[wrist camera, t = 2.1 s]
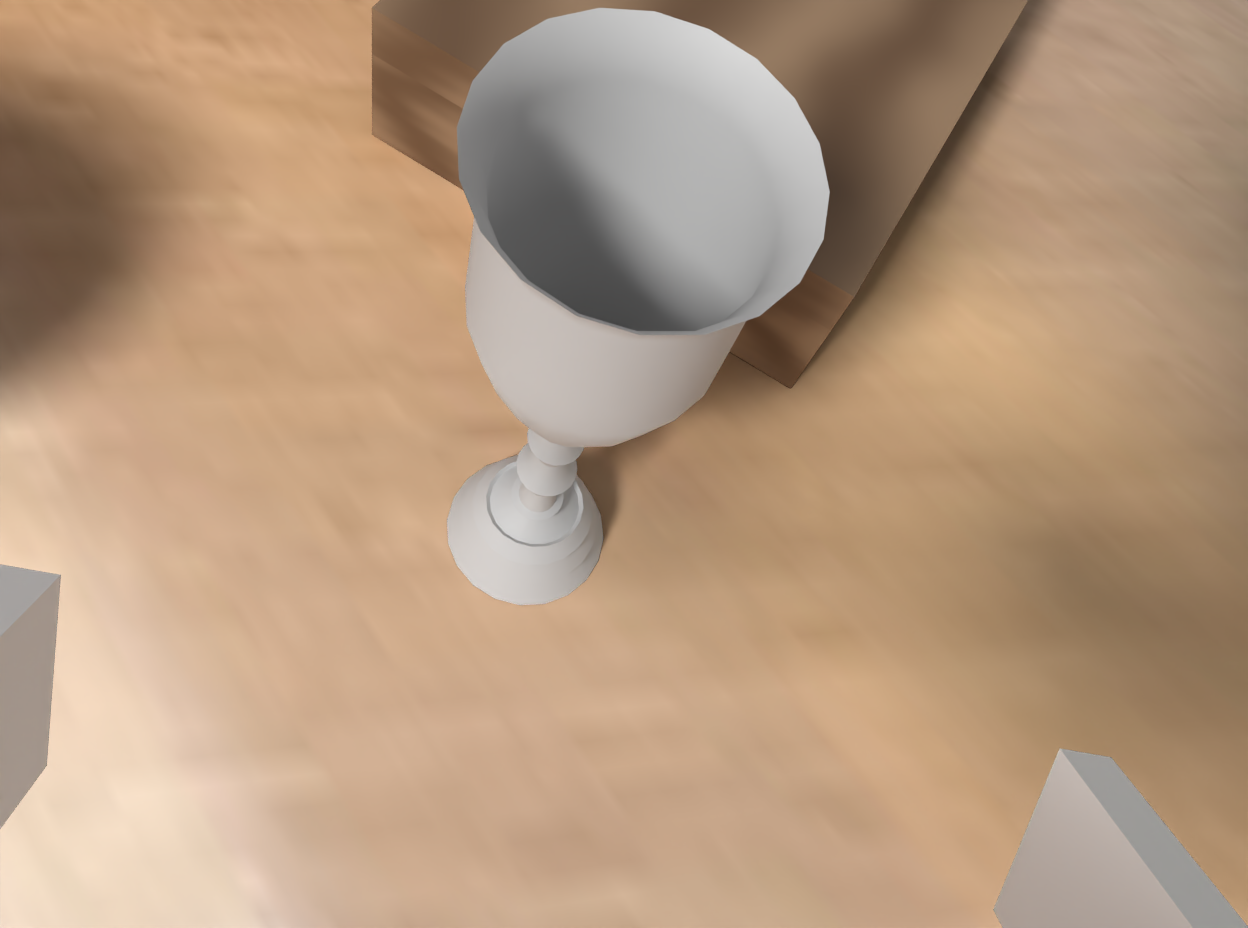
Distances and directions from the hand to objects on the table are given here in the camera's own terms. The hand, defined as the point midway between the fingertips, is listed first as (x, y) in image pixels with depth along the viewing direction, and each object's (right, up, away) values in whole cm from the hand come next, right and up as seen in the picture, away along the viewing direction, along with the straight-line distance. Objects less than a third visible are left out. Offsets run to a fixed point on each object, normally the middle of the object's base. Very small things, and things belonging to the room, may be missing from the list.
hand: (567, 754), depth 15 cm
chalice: (-2, +2, +21) cm, 22 cm away
